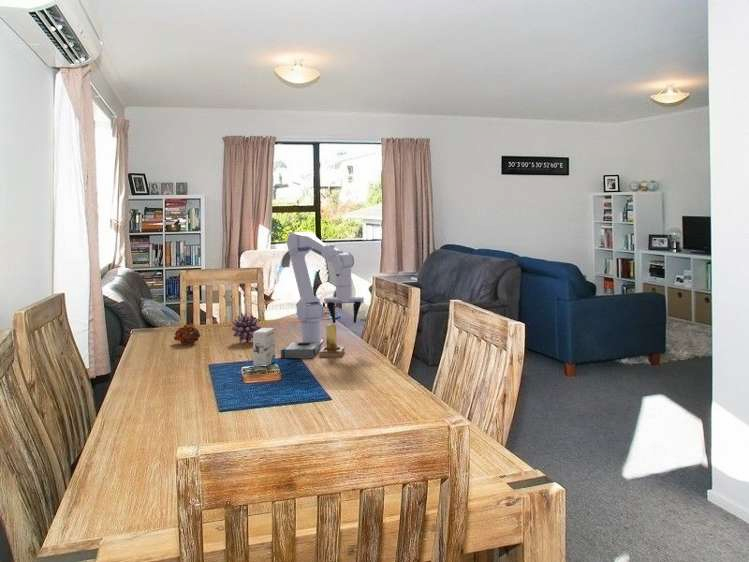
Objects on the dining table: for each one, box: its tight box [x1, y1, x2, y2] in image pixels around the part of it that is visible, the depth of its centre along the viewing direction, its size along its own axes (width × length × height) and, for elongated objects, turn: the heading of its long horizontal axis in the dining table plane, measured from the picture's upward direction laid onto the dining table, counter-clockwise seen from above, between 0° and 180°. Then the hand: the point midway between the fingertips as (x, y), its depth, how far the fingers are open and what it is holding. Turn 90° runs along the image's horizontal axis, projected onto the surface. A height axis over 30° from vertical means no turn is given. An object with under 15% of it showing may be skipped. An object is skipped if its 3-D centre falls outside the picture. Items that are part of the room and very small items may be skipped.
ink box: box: [252, 327, 276, 367], centre depth 211 cm, size 9×5×12 cm, turn 168°
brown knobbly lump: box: [173, 323, 201, 345], centre depth 250 cm, size 8×8×12 cm
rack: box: [318, 346, 345, 358], centre depth 224 cm, size 8×8×2 cm
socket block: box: [284, 341, 320, 359], centre depth 226 cm, size 13×10×3 cm
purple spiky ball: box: [231, 312, 262, 343], centre depth 250 cm, size 12×12×12 cm
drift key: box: [280, 347, 286, 358], centre depth 222 cm, size 3×9×3 cm, turn 86°
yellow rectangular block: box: [325, 323, 338, 351], centre depth 223 cm, size 4×4×10 cm
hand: (344, 322), depth 230 cm, fingers open, 7 cm apart
